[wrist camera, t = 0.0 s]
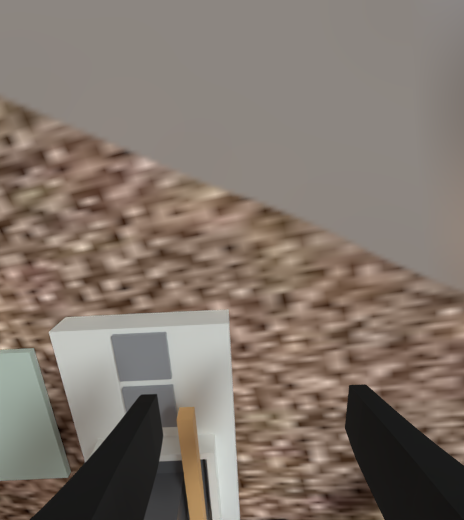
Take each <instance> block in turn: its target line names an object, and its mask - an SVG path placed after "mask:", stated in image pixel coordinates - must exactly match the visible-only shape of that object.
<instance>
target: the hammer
mask: <svg viewBox="0 0 464 520" xmlns="http://www.w3.org/2000/svg"><path fill="white" fill-rule="evenodd" d="M177 427H178V435H179V442H180V449H181V457H182V464H183V472H184V479H185V486H186V494H187V501H188V509H189V516H190V520H207V518H206V509H205V499H204V490H203V481H202V472H201V462H200V453H199V444H198V435H197V425H196V416H195V407H179V411H178V416H177Z"/></svg>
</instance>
